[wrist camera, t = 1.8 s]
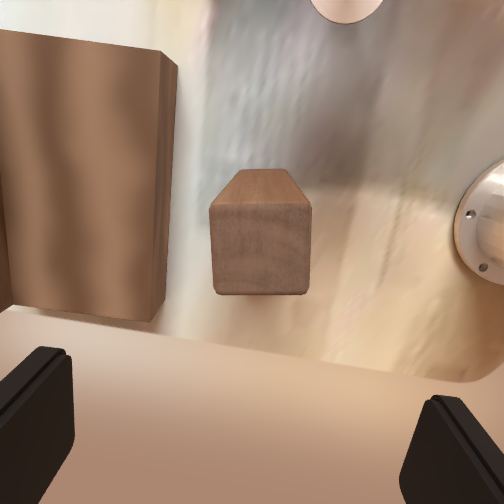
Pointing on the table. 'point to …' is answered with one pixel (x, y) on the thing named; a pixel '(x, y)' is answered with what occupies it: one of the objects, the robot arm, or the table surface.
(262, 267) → the wooden block
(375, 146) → the table surface
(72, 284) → the walnut shelf
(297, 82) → the table surface
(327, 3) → the champagne flute
